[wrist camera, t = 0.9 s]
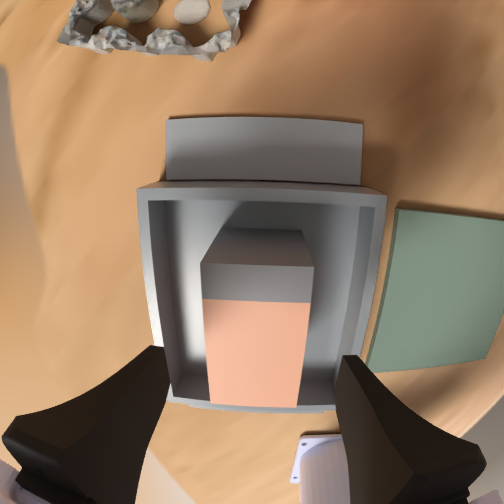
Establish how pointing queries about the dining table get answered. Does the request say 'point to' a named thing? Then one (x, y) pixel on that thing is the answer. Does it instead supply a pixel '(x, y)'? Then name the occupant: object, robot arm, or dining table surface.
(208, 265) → the block
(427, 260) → the mat
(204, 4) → the egg carton
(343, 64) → the dining table surface
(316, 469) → the robot arm
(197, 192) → the grey tray
